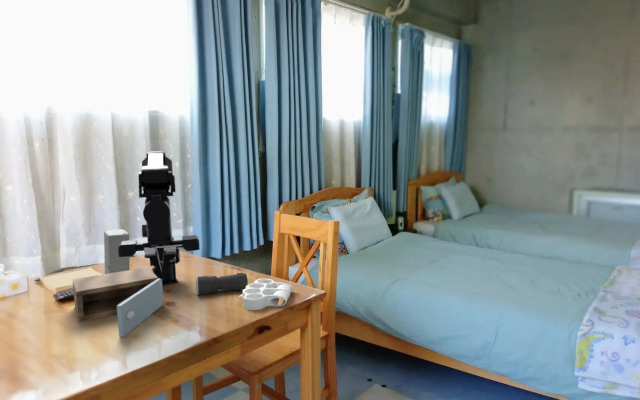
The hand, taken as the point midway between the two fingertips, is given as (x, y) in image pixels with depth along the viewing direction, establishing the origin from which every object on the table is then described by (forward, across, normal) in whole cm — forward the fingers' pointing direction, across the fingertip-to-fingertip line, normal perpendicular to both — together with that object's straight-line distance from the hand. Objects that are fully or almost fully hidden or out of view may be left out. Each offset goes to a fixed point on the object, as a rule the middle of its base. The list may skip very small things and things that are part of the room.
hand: (162, 278), depth 110 cm
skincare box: (+12, +15, -44) cm, 48 cm away
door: (+11, +5, -2) cm, 12 cm away
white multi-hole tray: (+12, -27, -7) cm, 31 cm away
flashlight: (+12, -16, -17) cm, 26 cm away
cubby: (+11, +13, -15) cm, 23 cm away
